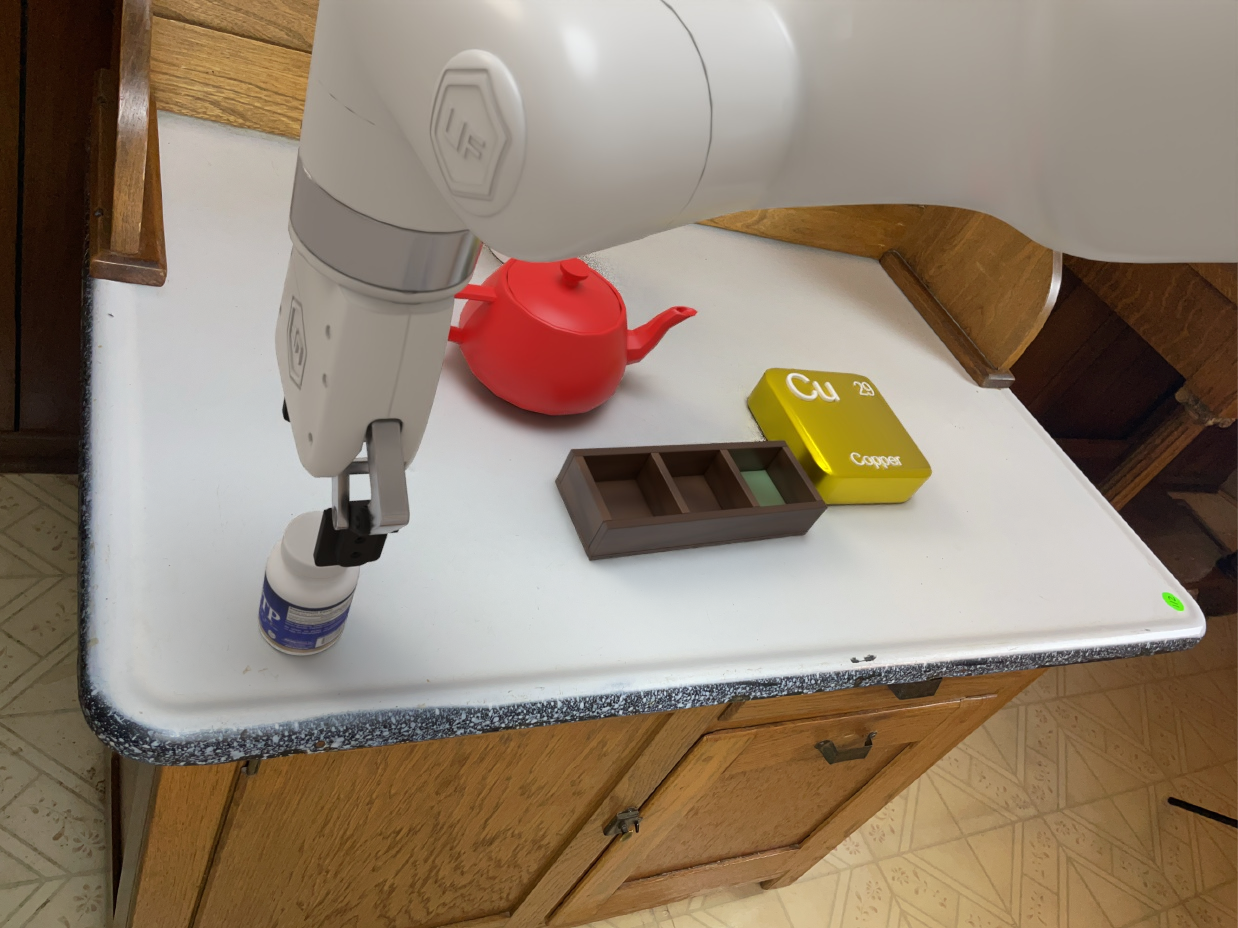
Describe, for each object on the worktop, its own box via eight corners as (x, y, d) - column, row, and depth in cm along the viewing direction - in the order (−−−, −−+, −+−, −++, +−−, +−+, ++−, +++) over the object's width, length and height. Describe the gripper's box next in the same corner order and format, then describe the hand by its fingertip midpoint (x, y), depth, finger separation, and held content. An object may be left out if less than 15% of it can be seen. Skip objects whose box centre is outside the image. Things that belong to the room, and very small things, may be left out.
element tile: (802, 506, 81) (829, 473, 78) (739, 394, 89) (761, 361, 86) (915, 504, 88) (944, 473, 85) (847, 400, 97) (870, 369, 93)
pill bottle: (254, 588, 54) (267, 500, 48) (339, 583, 57) (362, 499, 51) (260, 662, 51) (274, 578, 45) (349, 654, 54) (375, 573, 48)
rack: (805, 534, 78) (828, 507, 76) (589, 560, 66) (607, 529, 64) (764, 467, 83) (784, 439, 80) (554, 481, 71) (570, 448, 68)
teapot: (417, 424, 69) (452, 307, 61) (396, 302, 79) (424, 187, 71) (682, 442, 81) (741, 345, 73) (636, 333, 90) (684, 236, 82)
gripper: (260, 84, 37) (231, 370, 48) (336, 362, 28) (278, 636, 39) (428, 114, 41) (365, 372, 52) (544, 366, 32) (436, 614, 43)
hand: (328, 484), depth 46 cm, fingers open, 9 cm apart
